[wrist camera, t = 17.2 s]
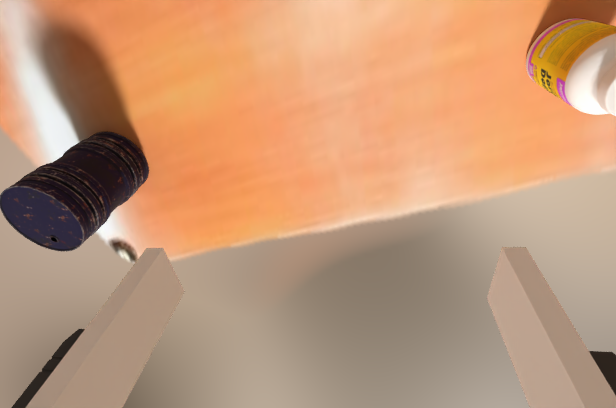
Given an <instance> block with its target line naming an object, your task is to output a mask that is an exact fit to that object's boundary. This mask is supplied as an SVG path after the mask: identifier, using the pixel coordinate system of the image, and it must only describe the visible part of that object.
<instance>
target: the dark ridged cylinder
mask: <svg viewBox="0 0 616 408" xmlns="http://www.w3.org/2000/svg"><path fill="white" fill-rule="evenodd" d="M148 174H149V167H148V163H147V160H146V158H145V156H144V155H143V153H142V152H141V150H140V149H139V148H138V147H137V146H136V145H135V144H134V143H133V142H131V141H130V140H128V139H127V138H125V137H123V136H121V135H119V134H116V133H112V132H99V133H96V134H94V135H92V136H91V137H90V138H88V139H86V140H83V141H81V142H79V143H78V144H76V145H75V146H73V147H71V148H70V149H69V150H67V151H66V152H65V153H64V155H63V156H62V157H61V158H59V159H58V160H56V161H54V162H53V163H49V164H46V165H43V166H40V167H38V168H37V169H36V170H35V171H33V172H31V173H29V174H27V175H26V176H24V177H23V178H22V179H21V180H20V181H18V182H17V183H15V184H14V185H12V186H10V187H9V188H7V189H6V190H4V191H3V192H2V193H1V195H0V208H1V211H2V213H3V215H4V217H5V218H6V220H7V221H8V222H9V223H10V224H11V226H13V228H14V229H15V230H17V231H18V232H19V233H20V234H22V235H23V236H24V237H25V238H27V239H29V240H30V241H32V242H34V243H36V244H38V245H40V246H42V247H45V248H48V249H51V250H56V251H72V250H75V249H77V248H78V247H79V246H80V245H81V244H82V243H83V242H84V241H85V240H86V239H88V238H89V237H90V236H91V235H92V234H94V233H95V232H96V231H97V230H98V229H99V228H100V227H101V225H103V224H104V223H105V222H106V221H107V219H108V218H109V216H110V214H111V212H112V211H113V210H114V209H115V208H116V207H117V206H119V205H122V204H123V203H124V202H126V201H127V200H128V199H129V198H130V197H131V196H132V195H133V194H134V193H135V192H136V191H137V190H138V188H139V187H140V186H141V185H142V184H143V183H144V182H145V181H146V180H147V178H148Z"/></svg>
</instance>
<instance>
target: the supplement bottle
mask: <svg viewBox="0 0 616 408" xmlns="http://www.w3.org/2000/svg"><path fill="white" fill-rule="evenodd" d="M526 70H527V73H528V75H529V77H530V78H531V79H532V80H533V81H534V82H535V83H537V84H538V85H540V86H541V87H543V88H544V89H546V90H547V91H549V92H550V93H552V94H554V95H555V96H557V97H559V98H560V99H562V100H563V101H565V102H566V103H568V104H569V105H571V106H573V107H574V108H576V109H577V110H579V111H581V112H584V113H588V114H596V115H599V114H609V113H610V114H612V115H614V116H616V26H612V25H607V24H603V23H599V22H595V21H590V20H586V19H578V18H574V19H567V20H563V21H560V22H558V23H556V24H554V25H552V26H550V27H549V28H547V29H546V30H545V31H543V32H542V33H541V34H540V35H539V36H538V37H537V39H536V40H535V41H534V43H533V44H532V46H531V48H530V50H529V52H528V55H527V58H526Z"/></svg>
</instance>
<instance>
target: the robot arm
mask: <svg viewBox="0 0 616 408" xmlns="http://www.w3.org/2000/svg"><path fill="white" fill-rule="evenodd" d="M184 292H185V291H184V289H183V287H182V285H181V283H180V281H179V279H178V277H177V275H176V273H175V271H174V269H173V267H172V265H171V263H170V261H169V259H168V257H167V255H166V253H165V251H164V249H163V248H146V250H145V251H144V252H143V254H142V255H141V256H140V258H139V259H138V260H137V262H136V263H135V264H134V266H133V267H132V268H131V269H130V271H129V272H128V273H127V275H126V276H125V277H124V279H123V280H122V281H121V283H120V284H119V285H118V287H117V288H116V289H115V291H114V292H113V293H112V294H111V296H110V297H109V298H108V300H107V301H106V302H105V304H104V305H103V306H102V308H101V309H100V310H99V312H98V313H97V314H96V316H95V317H94V318H93V320H92V321H91V322H90V323H89V325H88V326H87V327H86V329H79V330H77V331H76V332H75V333H74V334H72V335H71V336H70V337H69V338H68V339H66V340H65V341H64V342H63V343H62V345H61V346H60V347H59V349H58V350H57V351H56V352H55V353H54V355H53V356H52V359H51V360H49V361H48V362H47V364H46V365H45V366H44V368H43V369H42V372H39V374H38V375H37V376H36V378H35V379H34V380H33V381H32V382H31V384H30V385H29V386H28V387H27V389H26V390H25V391H24V393H23V394H22V395H21V397H20V398H19V399H18V400H17V401H16V403H15V404H14V405H13V407H12V408H122V407H123V405H124V403H125V402H126V400H127V398H128V396H129V394H130V392H131V391H132V389H133V387H134V385H135V383H136V381H137V379H138V378H139V376H140V374H141V372H142V370H143V368H144V366H145V365H146V363H147V361H148V359H149V357H150V355H151V354H152V351H153V349H154V348H155V346H156V344H157V342H158V341H159V339H160V337H161V335H162V333H163V331H164V329H165V328H166V326H167V324H168V322H169V320H170V318H171V316H172V315H173V312H174V311H175V309H176V307H177V305H178V303H179V302H180V300H181V298H182V296H183V294H184ZM487 300H488V302H489V305H490V307H491V310H492V312H493V315H494V318H495V320H496V322H497V325H498V328H499V330H500V333H501V335H502V338H503V340H504V343H505V346H506V348H507V350H508V353H509V356H510V358H511V361H512V363H513V366H514V368H515V371H516V373H517V376H518V379H519V381H520V384H521V386H522V389H523V391H524V394H525V396H526V399H527V401H528V404H529V407H530V408H616V355H615V354H614V353H612V352H594V351H588V349H587V347H586V346H585V344H584V343H583V341H582V339H581V338H580V336H579V335H578V333H577V331H576V329H575V328H574V326H573V325H572V323H571V321H570V319H569V318H568V316H567V314H566V313H565V311H564V310H563V308H562V306H561V305H560V303H559V301H558V300H557V298H556V296H555V295H554V293H553V292H552V290H551V288H550V286H549V285H548V283H547V281H546V280H545V278H544V277H543V275H542V273H541V272H540V270H539V268H538V267H537V265H536V263H535V262H534V260H533V258H532V257H531V255H530V254H529V252H528V250H527V248H526V247H503V248H502V249H501V253H500V256H499V259H498V263H497V266H496V269H495V273H494V277H493V280H492V283H491V286H490V290H489V293H488V297H487Z"/></svg>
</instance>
